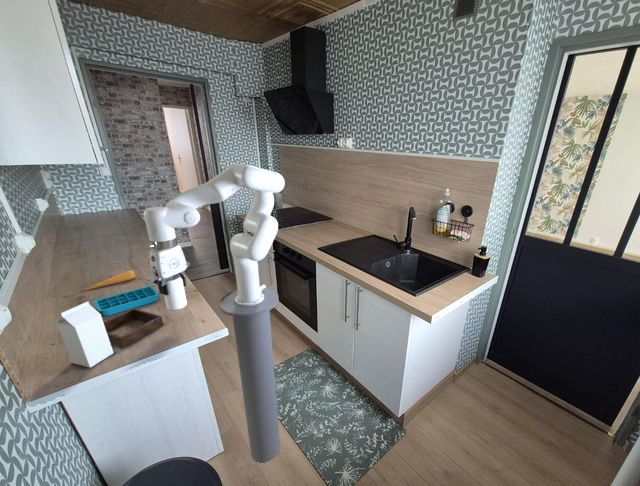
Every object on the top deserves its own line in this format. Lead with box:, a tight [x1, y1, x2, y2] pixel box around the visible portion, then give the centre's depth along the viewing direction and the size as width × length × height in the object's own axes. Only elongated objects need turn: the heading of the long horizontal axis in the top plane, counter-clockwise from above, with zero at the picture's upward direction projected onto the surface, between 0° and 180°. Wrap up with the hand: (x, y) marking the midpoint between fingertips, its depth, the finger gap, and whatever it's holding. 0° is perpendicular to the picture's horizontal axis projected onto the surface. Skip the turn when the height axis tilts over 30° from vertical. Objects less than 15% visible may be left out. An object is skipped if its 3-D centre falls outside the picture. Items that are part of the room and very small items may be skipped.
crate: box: [103, 307, 164, 349], centre depth 106 cm, size 15×15×4 cm
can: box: [163, 274, 188, 311], centre depth 107 cm, size 6×6×12 cm
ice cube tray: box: [93, 285, 160, 317], centre depth 123 cm, size 12×20×3 cm, turn 139°
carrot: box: [82, 270, 137, 292], centre depth 137 cm, size 20×4×4 cm, turn 143°
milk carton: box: [56, 301, 114, 369], centre depth 90 cm, size 7×7×19 cm
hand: (173, 289), depth 106 cm, fingers closed on can, 6 cm apart
